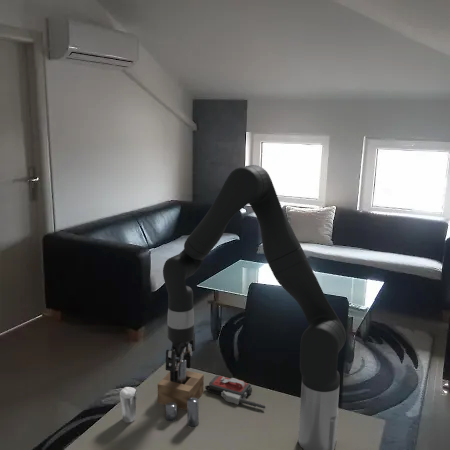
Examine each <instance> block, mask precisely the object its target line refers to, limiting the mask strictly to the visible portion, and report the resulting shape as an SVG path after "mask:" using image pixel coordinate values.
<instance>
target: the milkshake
mask: <svg viewBox="0 0 450 450" xmlns="http://www.w3.org/2000/svg"><path fill="white" fill-rule="evenodd" d="M137 392H138V389H136V388H134V387H131V386H125V387H123V388H122V389H121V390H120V391H119V398H120V405H121V407H120V408H121V414H122V421H123V422H124V423H127V424H128V423H130V424H131V423H133V422H134V421H135V420H136V411H137V394H138V393H137Z"/></svg>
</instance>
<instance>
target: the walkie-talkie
mask: <svg viewBox="0 0 450 450" xmlns="http://www.w3.org/2000/svg"><path fill="white" fill-rule="evenodd" d="M251 386H252V384H251V383H250V382H249V383H247V382H245V381H244V380H241V379H238V378H234V377H231V378H229V377H225V376H222V375H215V376H214V377H213V378H212V380H210V381H209V385H208V384H207V385H205V386H204V388H205V390H206V391H209V392H210V393H212V394H215V395H219V396H221V397H222V398H223V399H224V401H226V402H228V403H232V404H235V405H239V404H245V405H248V406H252V407H254V408H255V407H258V408H261V409H266V405H265V404H260V403H256V402H254V401H250V400H247V396H248V395H249V396H250V395H252V393H253V387H251Z"/></svg>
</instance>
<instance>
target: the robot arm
mask: <svg viewBox="0 0 450 450" xmlns="http://www.w3.org/2000/svg"><path fill="white" fill-rule="evenodd" d="M248 204H249V206H250V208H252V211H253V213H254V215H255V216H256V219H257V222H258V224H259V228H260V229H259V230H260V234H261V236H260V237H261V243H262V249H263V250H262V251H263V255H264V257H265V260H266V262H267V264H268V266H269V269H270V270H271V272H272V275H273V276H274V278H275V279H276V282H277V283H278V284H279V285H280V286H281V287H282V288H283V289H284V291H286V292H287V293H288V294H289V295H290V296H291V297H292V298H293V299H294V300H295V301H296V302H297V304H298V306H299V307H300V308H301V311H302V313H303V315H304V317H305V320H306V321H307V324H308V326H307V328H306V329H305V330H304V331H303V332H302V334H301V339H300V345H299V346H300V349H299V350H300V351H299V371H300V374H301V387H300V388H301V391H300V407H299V421H298V423H299V424H298V425H299V426H298V440H297V441H298V445H299V446H300V447H301V448H302V449H303V450H335V447H336V443H337V441H338V440H337V438H338V424H339V415H340V414H339V413H340V412H339V411H340V408H339V400H340V399H339V398H340V397H339V395H340V384H341V375H340V372H339V370H338V362H339V361H338V359H339V353H340V351H341V350H342V348H344V346H345V343H346V340H347V333H346V329H345V327H344V325H343V323H342V321H341V319H340V317H339V316H338V315H337V313H336V312H335V310H334V308H333V307H332V305H331V304H330V302H329V301H328V299H327V297H326V295H325V293H324V291H323V288H322V287H321V285H320V283H319V281H318V278H317V276H316V274H315V272H314V270H313V268H312V266H311V264H310V261H309V260H308V257H307V255H306V253H305V251H304V249H303V247H302V245H301V243H300V242H299V240H298V237H297V236H296V234H295V231H294V230H293V227H292V225H291V223H290V221H289V219H288V218H287V216H286V214H285V212H284V209H283V207H282V204H281V202H280V200H279V197H278V194H277V191H276V189H275V186H274V184H273V181H272V178H271V176H270V174H269V173H268V171H267V170H266V169H265V168H263V167H262V166H260V165H256V164H250V165H244V166H239V167H236V168H235V169H233V170H232V171H231V172H230V173H229V175H228V176H227V177H226V180H225V181H224V183H223V184H222V187H221V189H220V191H219V193H218V194H217V196H216V198H215V199H214V201H213V202H212V205H211V206H210V208H209V209H208V211H207V212H206V214H205V215H204V217H203V218H202V219H201V220H200V222H199V223H198V224H197V225H196V227H195V228H194V229H193V231H192V232H191V233H190V234H189V236H188V237H187V238H186V240H185V241H184V245H183V249H182V251H181V252H180V253H177V254H176V255H173V256H171V257H169V258H168V259H166V261H165V262H164V265H163V267H162V276H163V281H164V283H165V288H166V291H167V294H168V297H167V299H168V301H167V303H168V306H167V307H168V308H167V338H168V340H169V341H170V342H171V348H170V349H166V351H165V371H169V372H170V381H172V382H177V381H178V368H179V364H180V363H181V362H182V359H183V358H184V359H186V369H191V367H192V356H193V353H194V352H195V351H196V339H195V337H196V333H195V311H194V291H193V289H192V287H190V286H189V285H187V284H186V279H188V278H190V277H191V276H193V275H194V274H195V273H196V272H197V271H198V270H199V269H200V268H201V266H202V264H204V263H203V262H204V261H205V259H206V257H207V256H208V255H209V254H210V253H211V252H212V250H213V249H214V248H215V246H216V245H217V244H218V242H219V241H220V240H221V238H222V237H223V236H224V233H225V231H226V228H227V227H228V224H229V223H230V221H231V220H232V219H233V218H234V217H235V215H236V214H237V213H239V212H240V211H241V210H242V209H243V208H244V207H246V206H247V205H248ZM178 358H179V359H178ZM176 362H177V363H176Z"/></svg>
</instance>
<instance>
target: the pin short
mask: <svg viewBox="0 0 450 450" xmlns="http://www.w3.org/2000/svg"><path fill="white" fill-rule="evenodd" d="M177 419H178V408H177V404H176V403H174V402H169V403H167V404H166V405H165V420H166V421H167V422H170V423H171V422H172V423H173V422H176V421H177Z"/></svg>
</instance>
